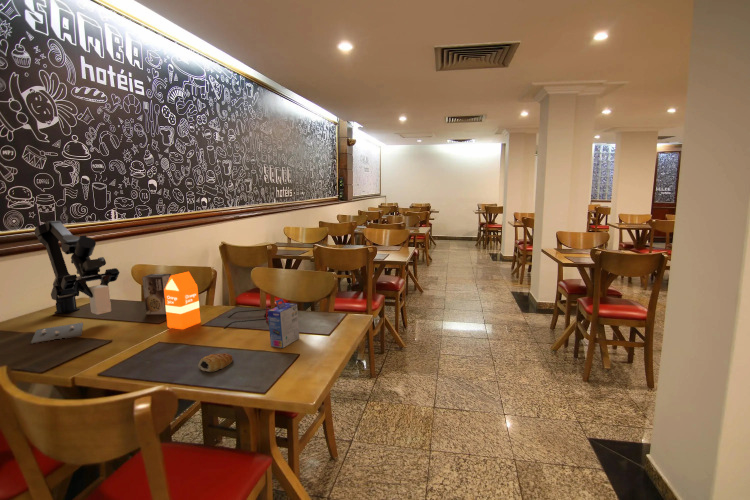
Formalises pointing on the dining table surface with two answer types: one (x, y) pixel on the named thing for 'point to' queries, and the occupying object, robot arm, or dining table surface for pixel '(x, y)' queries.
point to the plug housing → (100, 299)
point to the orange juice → (182, 301)
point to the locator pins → (57, 331)
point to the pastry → (215, 362)
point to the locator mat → (63, 332)
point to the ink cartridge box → (283, 324)
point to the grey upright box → (155, 292)
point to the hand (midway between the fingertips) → (100, 295)
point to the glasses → (250, 320)
